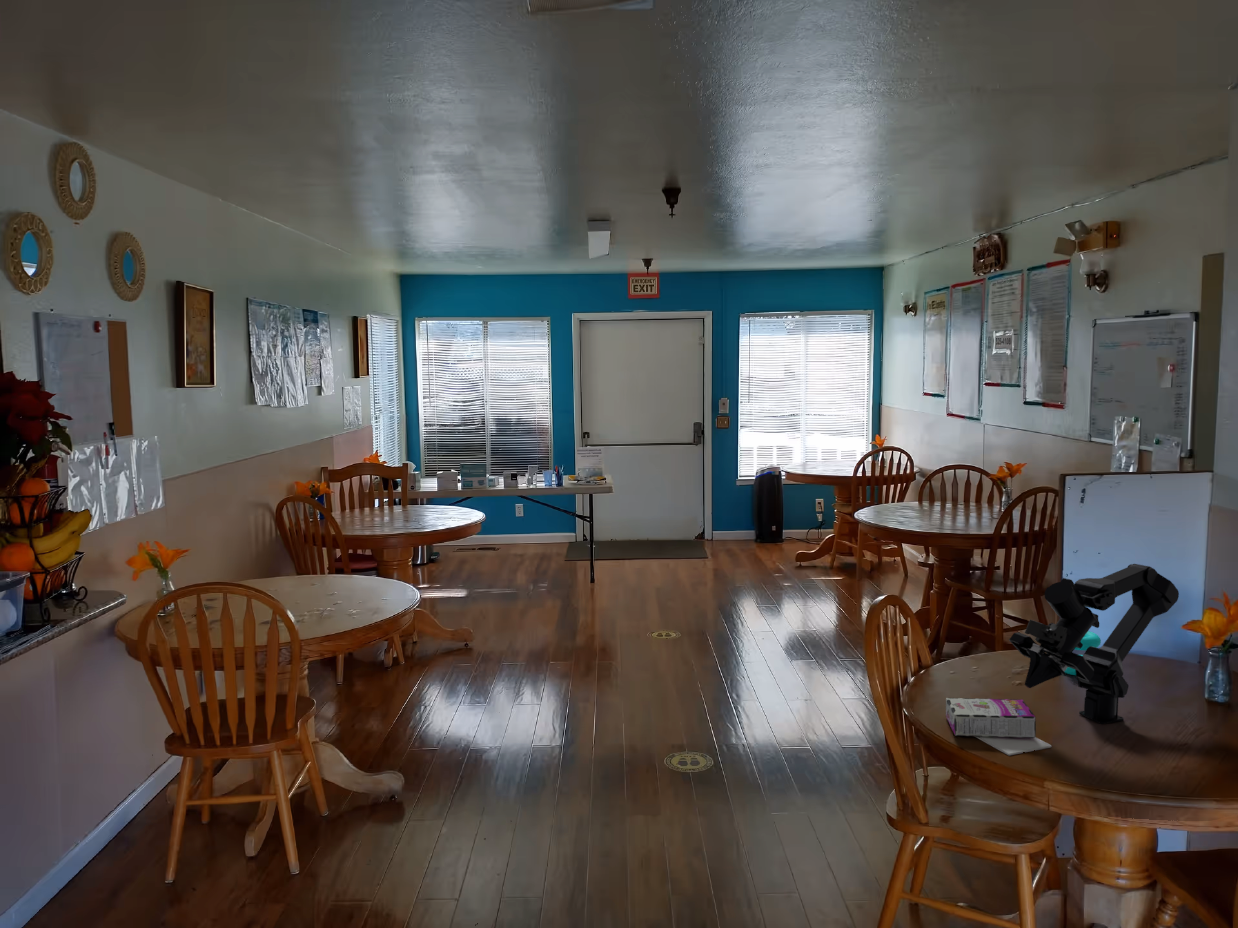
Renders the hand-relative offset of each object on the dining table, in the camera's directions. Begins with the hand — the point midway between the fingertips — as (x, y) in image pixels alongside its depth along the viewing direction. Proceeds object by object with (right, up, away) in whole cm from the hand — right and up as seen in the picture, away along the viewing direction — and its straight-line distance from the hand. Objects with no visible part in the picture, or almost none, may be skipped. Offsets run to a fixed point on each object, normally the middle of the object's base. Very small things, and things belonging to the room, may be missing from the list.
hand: (1027, 686), depth 191 cm
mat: (-4, -11, 0) cm, 12 cm away
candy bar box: (+2, -8, +3) cm, 9 cm away
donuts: (+31, -6, +40) cm, 51 cm away
